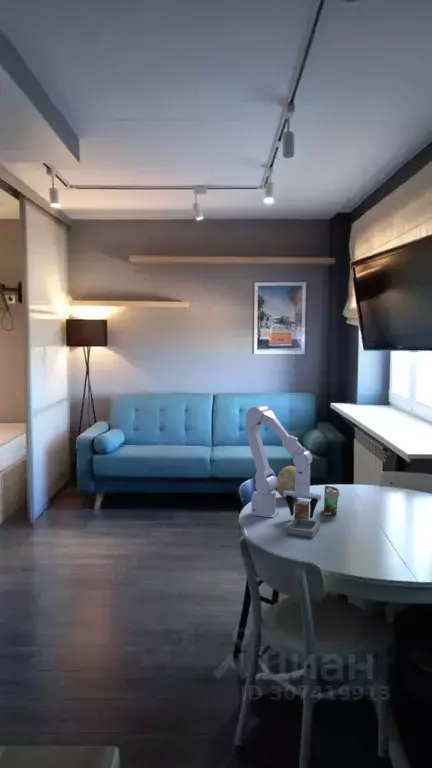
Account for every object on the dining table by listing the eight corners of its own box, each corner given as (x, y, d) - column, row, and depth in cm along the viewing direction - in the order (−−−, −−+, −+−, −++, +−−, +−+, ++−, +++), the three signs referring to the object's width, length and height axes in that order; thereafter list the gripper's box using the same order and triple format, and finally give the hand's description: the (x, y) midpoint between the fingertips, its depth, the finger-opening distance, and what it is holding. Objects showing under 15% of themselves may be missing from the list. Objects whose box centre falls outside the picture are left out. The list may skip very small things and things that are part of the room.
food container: (339, 518, 227) (340, 493, 226) (323, 517, 228) (324, 492, 227) (339, 509, 239) (339, 486, 238) (324, 508, 240) (324, 485, 239)
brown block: (294, 522, 221) (294, 504, 221) (298, 517, 228) (299, 500, 227) (304, 524, 220) (304, 506, 219) (308, 518, 226) (309, 501, 226)
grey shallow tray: (288, 534, 208) (288, 528, 207) (296, 524, 219) (296, 518, 218) (312, 538, 204) (312, 531, 204) (319, 528, 215) (320, 521, 215)
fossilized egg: (309, 499, 254) (310, 465, 253) (294, 505, 244) (295, 470, 243) (285, 493, 262) (286, 461, 261) (269, 499, 253) (270, 466, 251)
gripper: (281, 482, 222) (280, 516, 223) (318, 486, 216) (317, 521, 217) (286, 478, 228) (285, 511, 229) (322, 482, 223) (321, 516, 224)
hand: (301, 516), depth 224 cm, fingers open, 7 cm apart
